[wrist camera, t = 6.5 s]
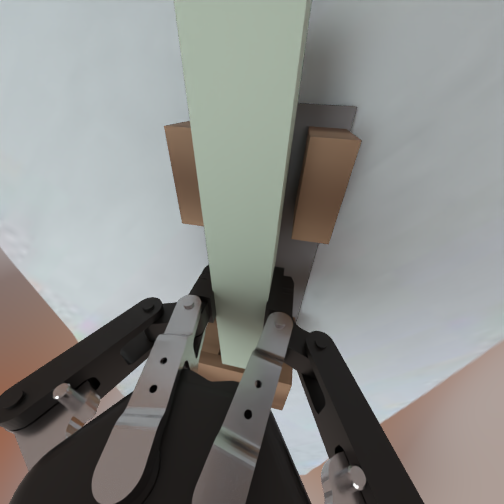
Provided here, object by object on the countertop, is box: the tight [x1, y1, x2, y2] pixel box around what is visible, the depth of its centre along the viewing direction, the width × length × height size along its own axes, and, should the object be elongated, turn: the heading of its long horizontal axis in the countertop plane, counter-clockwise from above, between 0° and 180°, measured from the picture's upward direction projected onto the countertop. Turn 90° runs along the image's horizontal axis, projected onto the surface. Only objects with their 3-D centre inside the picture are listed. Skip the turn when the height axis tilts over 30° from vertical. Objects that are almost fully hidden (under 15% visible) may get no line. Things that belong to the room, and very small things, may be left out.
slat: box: [174, 0, 312, 369], centre depth 12 cm, size 20×3×4 cm, turn 178°
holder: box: [164, 103, 362, 410], centre depth 16 cm, size 24×9×8 cm, turn 178°
